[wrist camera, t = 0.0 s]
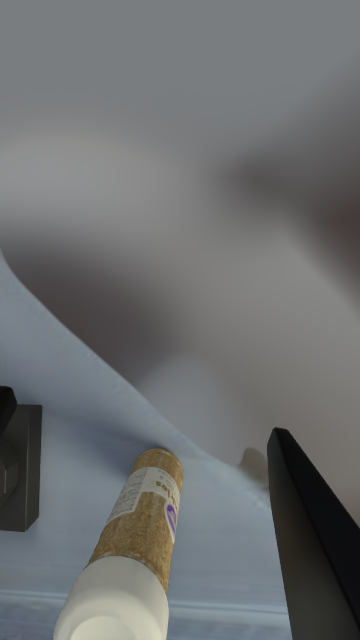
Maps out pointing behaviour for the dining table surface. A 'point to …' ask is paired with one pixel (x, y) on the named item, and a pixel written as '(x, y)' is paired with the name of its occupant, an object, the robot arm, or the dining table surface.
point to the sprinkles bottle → (130, 560)
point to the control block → (20, 469)
